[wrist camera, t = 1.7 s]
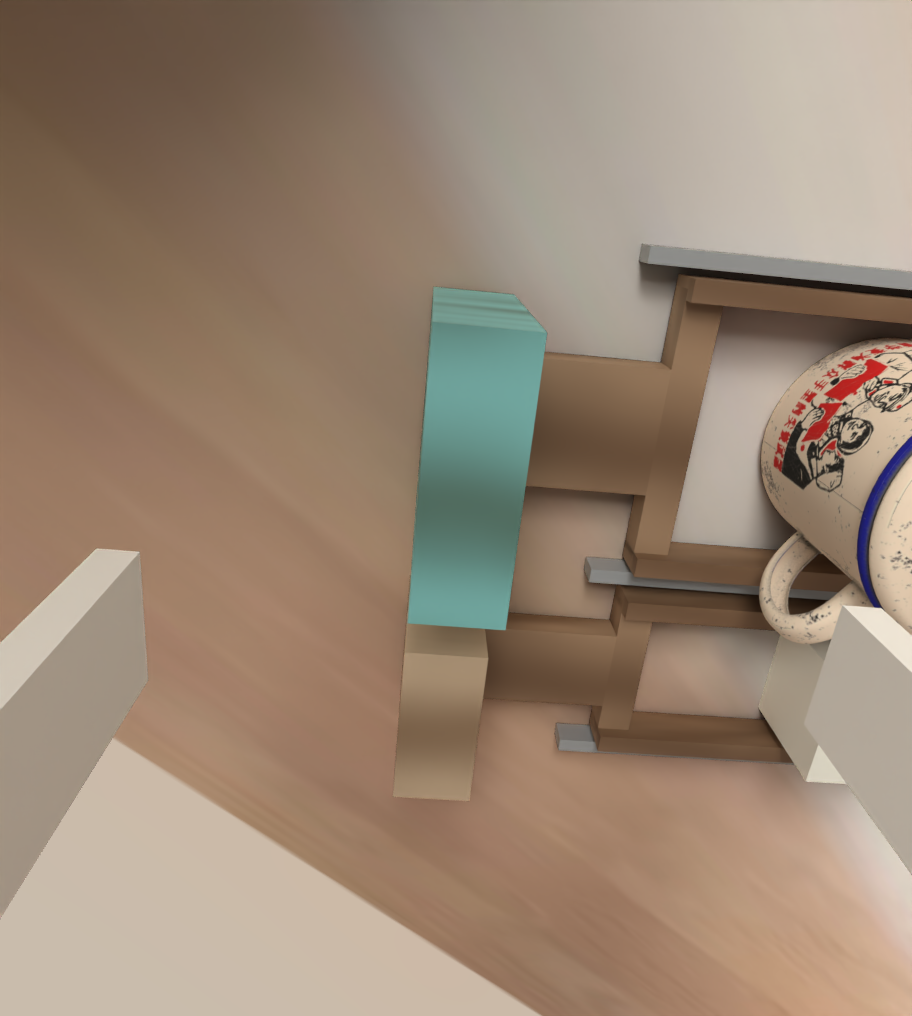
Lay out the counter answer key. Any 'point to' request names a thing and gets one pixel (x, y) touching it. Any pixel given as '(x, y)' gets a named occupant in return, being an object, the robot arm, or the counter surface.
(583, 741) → the lane rails
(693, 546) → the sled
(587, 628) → the sled
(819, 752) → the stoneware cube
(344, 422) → the counter surface
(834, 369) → the teacup with lid
